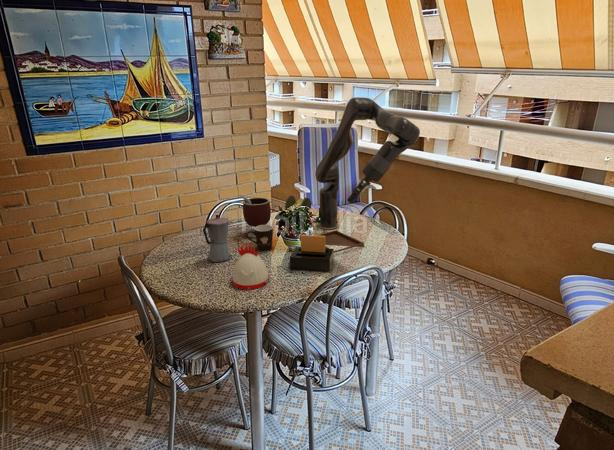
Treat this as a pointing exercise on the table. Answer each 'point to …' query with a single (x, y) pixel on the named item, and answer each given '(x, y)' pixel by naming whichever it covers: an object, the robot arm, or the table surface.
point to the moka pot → (217, 238)
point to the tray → (340, 240)
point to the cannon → (300, 202)
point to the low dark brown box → (311, 260)
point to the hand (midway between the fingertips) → (351, 200)
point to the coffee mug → (263, 237)
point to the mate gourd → (256, 212)
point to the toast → (313, 243)
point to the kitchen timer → (249, 270)
